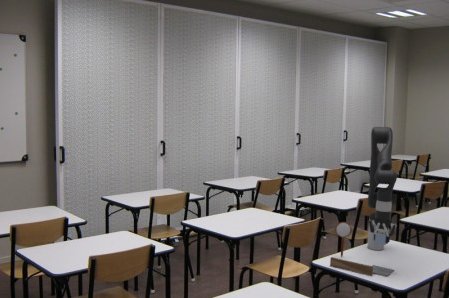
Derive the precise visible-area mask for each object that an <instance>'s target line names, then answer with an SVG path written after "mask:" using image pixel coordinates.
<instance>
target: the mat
mask: <svg viewBox="0 0 449 298" xmlns="http://www.w3.org/2000/svg"><path fill="white" fill-rule="evenodd" d="M371 266H373V275H377V276H378V275H379V276H383V277H386V278H387V277H389V276H390V275H391V274H392V273H393V272H395V269H394V268H393V269H392V268H389V267H385V266H380V265H376V264H372V265H371Z"/></svg>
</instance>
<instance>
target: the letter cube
mask: <svg viewBox="0 0 449 298" xmlns="http://www.w3.org/2000/svg"><path fill="white" fill-rule="evenodd" d="M375 243H377V244H382V245H384V246H386V245H387V244H386V232H385V233H384V232H377V233H376V234H375Z"/></svg>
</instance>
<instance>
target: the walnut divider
mask: <svg viewBox="0 0 449 298" xmlns="http://www.w3.org/2000/svg"><path fill="white" fill-rule="evenodd" d="M329 263H330V264H329V267H332V266H333V267H332V268H336V269H340V270H345V271H348V272H353V273H357V274H361V275H366V276H369V277H372V276H373V275H374V273H373V266H372V265H369V264H364V263H359V262H355V261H351V260H348V259H347V260H346V259H342V258H338V257H333V256H331V257H330V262H329Z"/></svg>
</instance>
